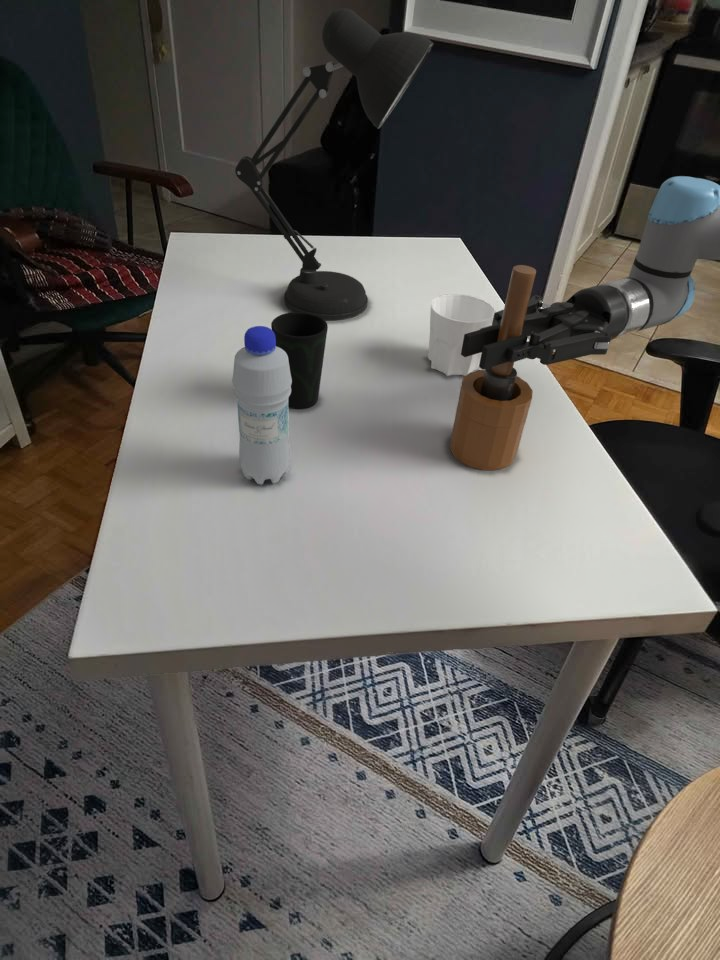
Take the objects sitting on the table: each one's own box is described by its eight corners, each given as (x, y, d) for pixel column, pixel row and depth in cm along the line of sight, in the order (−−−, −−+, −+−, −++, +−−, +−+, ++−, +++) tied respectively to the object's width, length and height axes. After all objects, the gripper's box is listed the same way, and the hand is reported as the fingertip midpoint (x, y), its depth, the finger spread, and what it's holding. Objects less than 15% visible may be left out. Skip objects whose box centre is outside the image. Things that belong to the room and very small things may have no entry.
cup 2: (476, 349, 111) (487, 295, 105) (489, 380, 103) (501, 323, 97) (419, 348, 110) (426, 293, 104) (427, 378, 103) (436, 321, 96)
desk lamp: (423, 318, 119) (465, 20, 90) (296, 345, 108) (298, 15, 79) (356, 269, 135) (374, 2, 106) (240, 288, 124) (224, -4, 95)
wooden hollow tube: (526, 448, 90) (543, 386, 84) (496, 479, 84) (513, 415, 78) (469, 423, 94) (482, 362, 87) (437, 451, 88) (449, 388, 81)
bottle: (231, 485, 80) (219, 339, 67) (247, 453, 85) (239, 311, 72) (284, 494, 79) (282, 348, 66) (297, 461, 84) (298, 319, 72)
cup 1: (265, 406, 93) (262, 331, 86) (283, 381, 99) (283, 307, 92) (315, 417, 92) (317, 341, 85) (331, 390, 98) (334, 317, 90)
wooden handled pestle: (510, 416, 86) (548, 269, 73) (497, 429, 83) (533, 279, 70) (484, 405, 87) (516, 259, 75) (469, 417, 85) (500, 269, 72)
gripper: (643, 363, 84) (513, 411, 73) (554, 315, 94) (428, 351, 83) (664, 309, 79) (528, 352, 69) (568, 264, 89) (436, 295, 78)
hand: (474, 351), depth 76 cm, fingers closed on wooden handled pestle, 3 cm apart
